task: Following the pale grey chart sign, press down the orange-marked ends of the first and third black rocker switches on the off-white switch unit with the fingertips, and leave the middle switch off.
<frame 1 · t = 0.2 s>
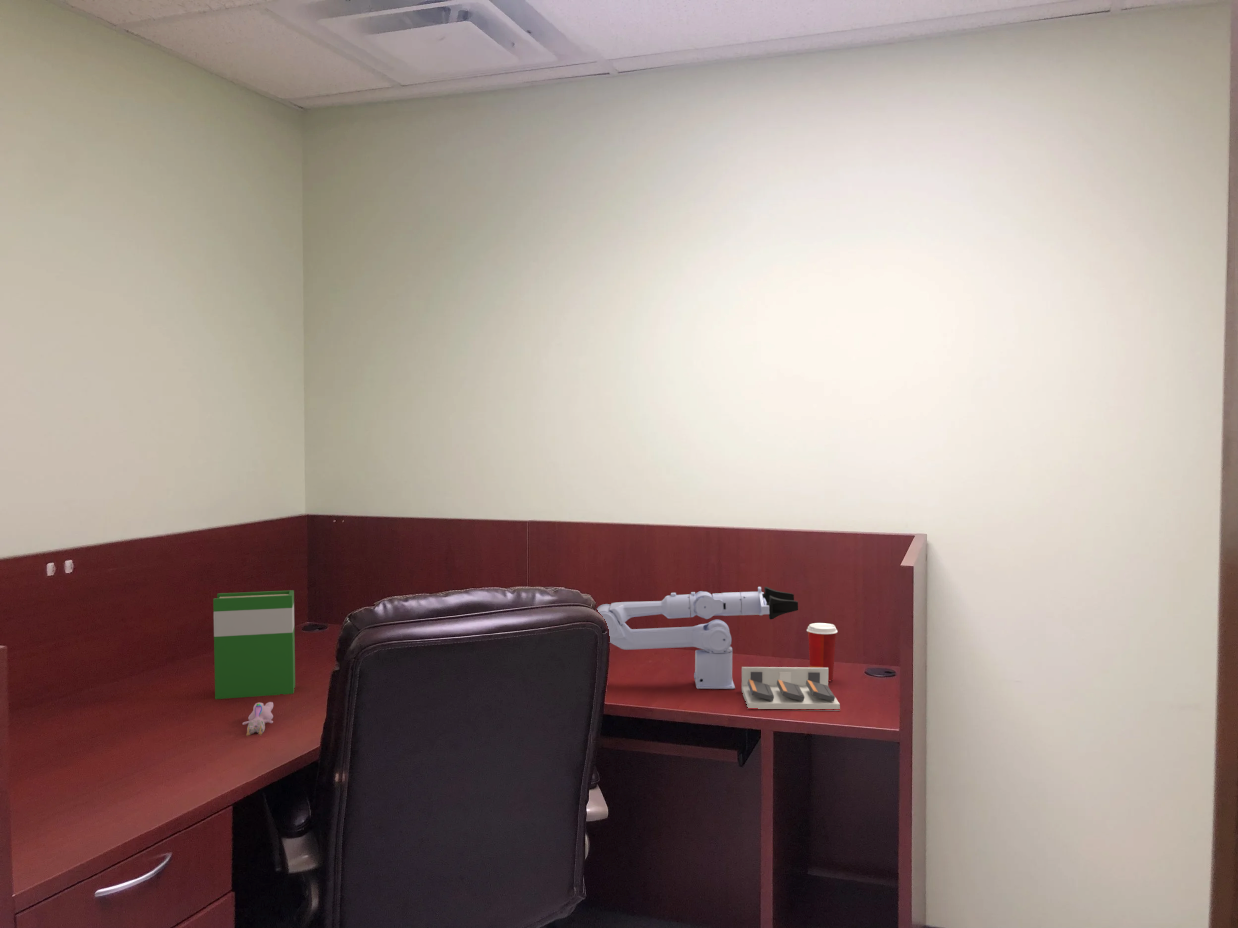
hand: (795, 601, 240), 21 cm above the table, tool horizontal, fingers open, 7 cm apart
switch 3: (820, 690, 228), point 3 cm above the table, hinge at 15.0°
switch 1: (760, 689, 228), point 3 cm above the table, hinge at 15.0°
switch unit: (789, 700, 229), on the table
switch 2: (790, 689, 228), point 3 cm above the table, hinge at 15.0°
paper cup: (821, 680, 248), on the table
hardback book: (256, 692, 236), on the table
pink and white figure: (260, 726, 210), on the table
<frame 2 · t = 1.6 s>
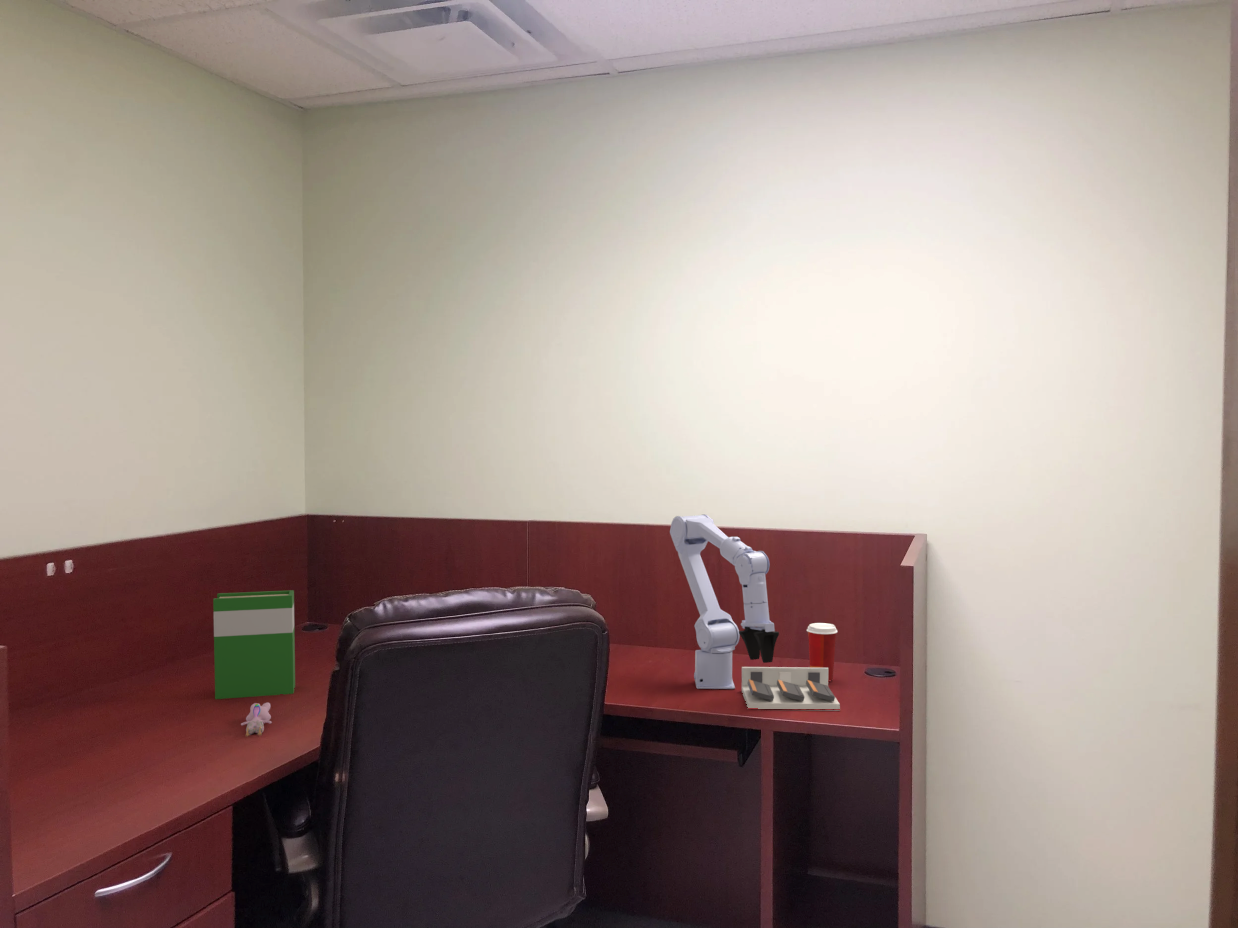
hand: (761, 660, 228), 10 cm above the table, tool pointing down, fingers open, 7 cm apart
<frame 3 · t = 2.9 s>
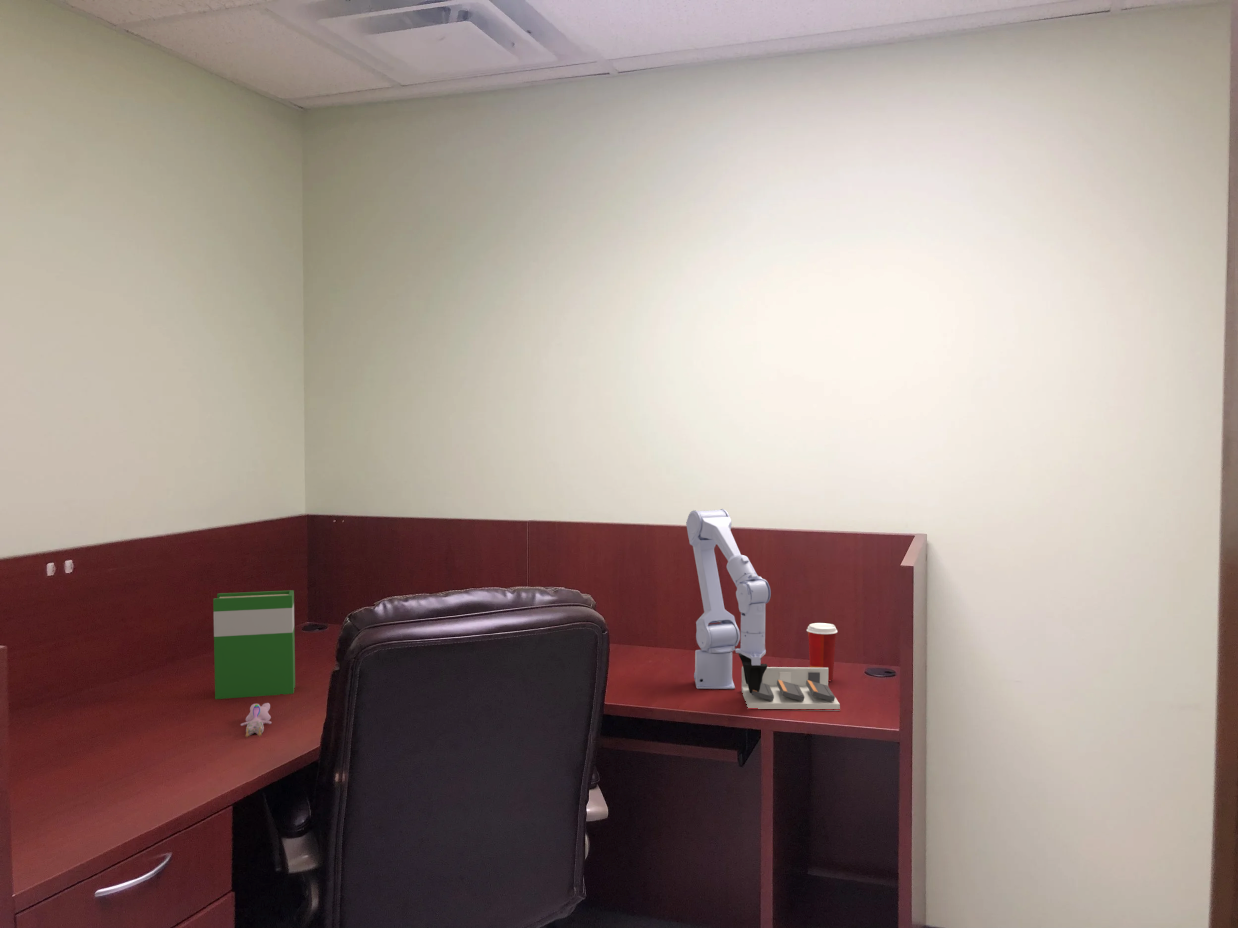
hand: (752, 688, 228), 3 cm above the table, tool pointing down
switch 1: (760, 689, 228), point 3 cm above the table, hinge at 14.7°, touching gripper
everything else where it was.
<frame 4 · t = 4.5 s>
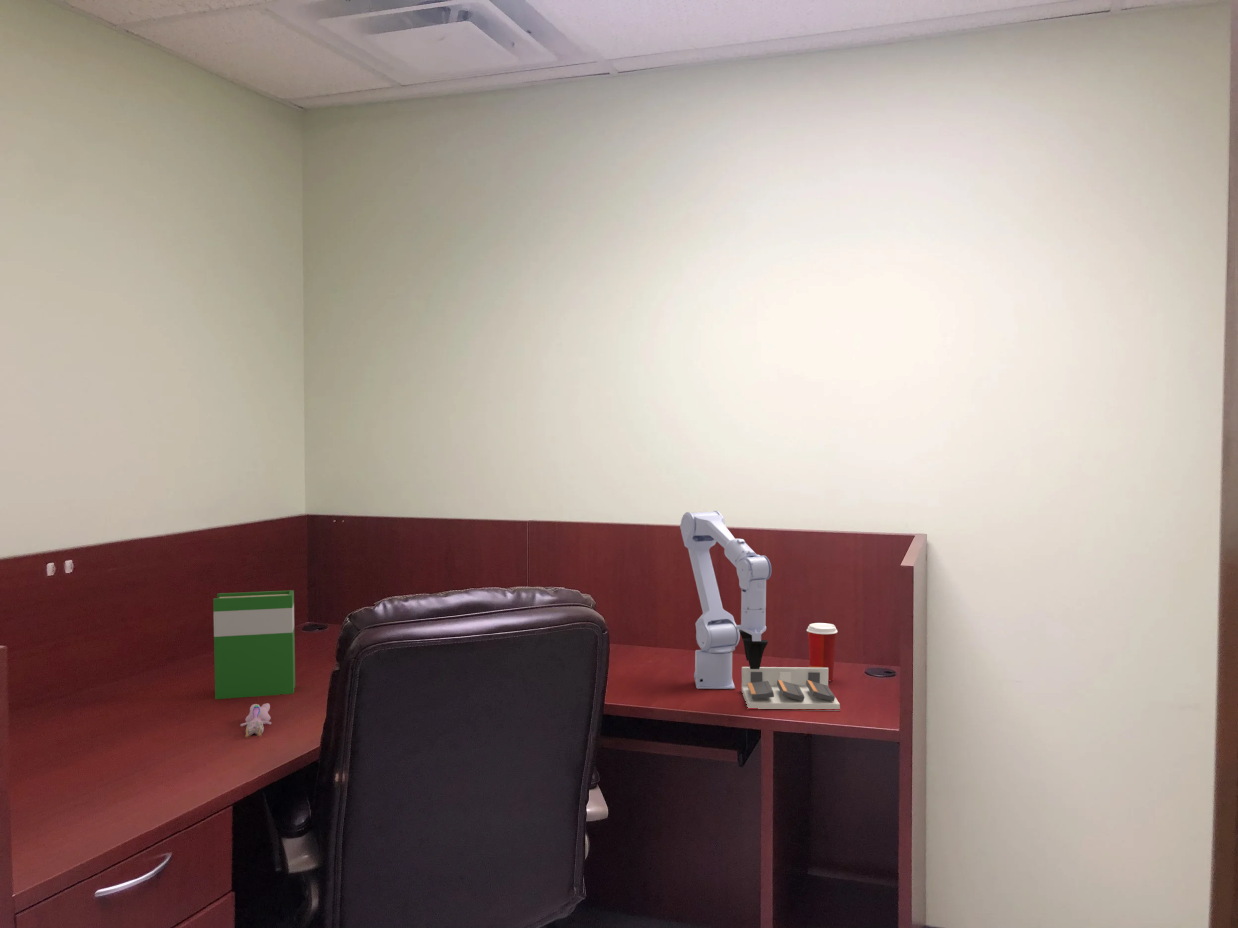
hand: (752, 664, 228), 9 cm above the table, tool pointing down, fingers open, 7 cm apart
switch 1: (760, 689, 228), point 3 cm above the table, hinge at -6.9°
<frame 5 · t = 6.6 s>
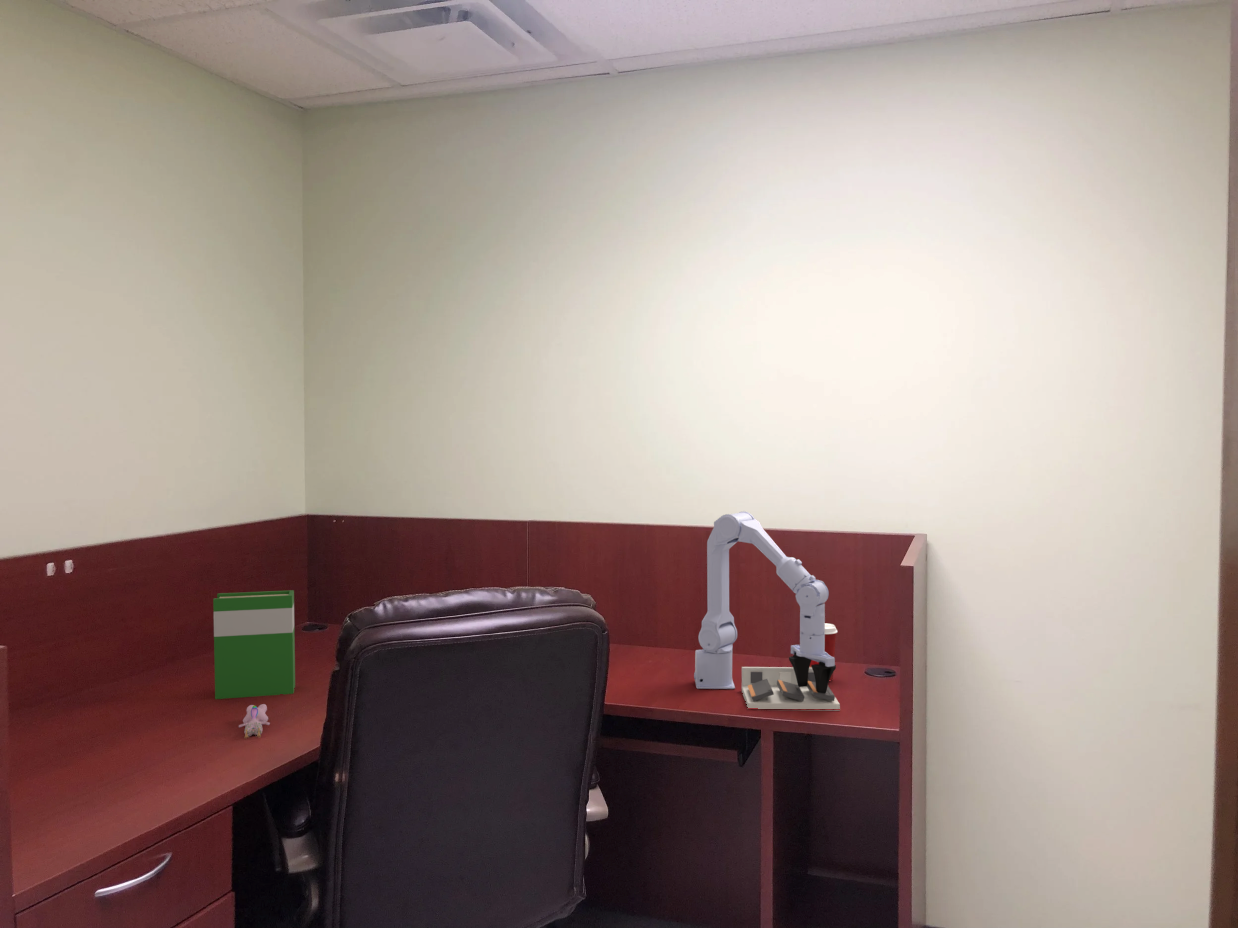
hand: (811, 690, 228), 3 cm above the table, tool pointing down
switch 3: (820, 690, 228), point 3 cm above the table, hinge at 11.6°, touching gripper
switch 1: (760, 689, 228), point 3 cm above the table, hinge at -20.6°
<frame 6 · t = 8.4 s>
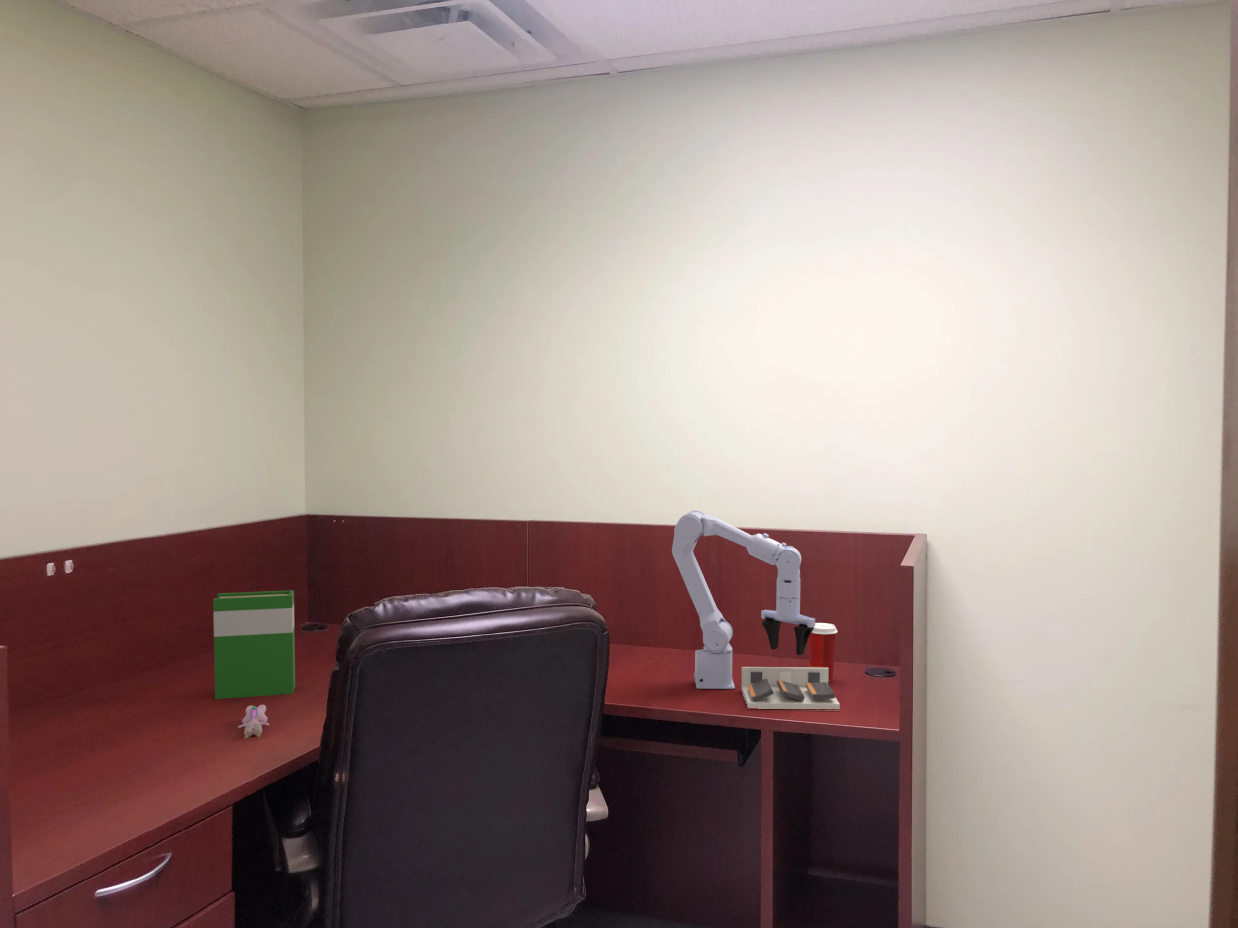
hand: (787, 651, 238), 10 cm above the table, tool pointing down, fingers open, 7 cm apart
switch 3: (819, 690, 228), point 3 cm above the table, hinge at -2.7°
switch 1: (760, 689, 228), point 3 cm above the table, hinge at -23.2°, touching switch unit
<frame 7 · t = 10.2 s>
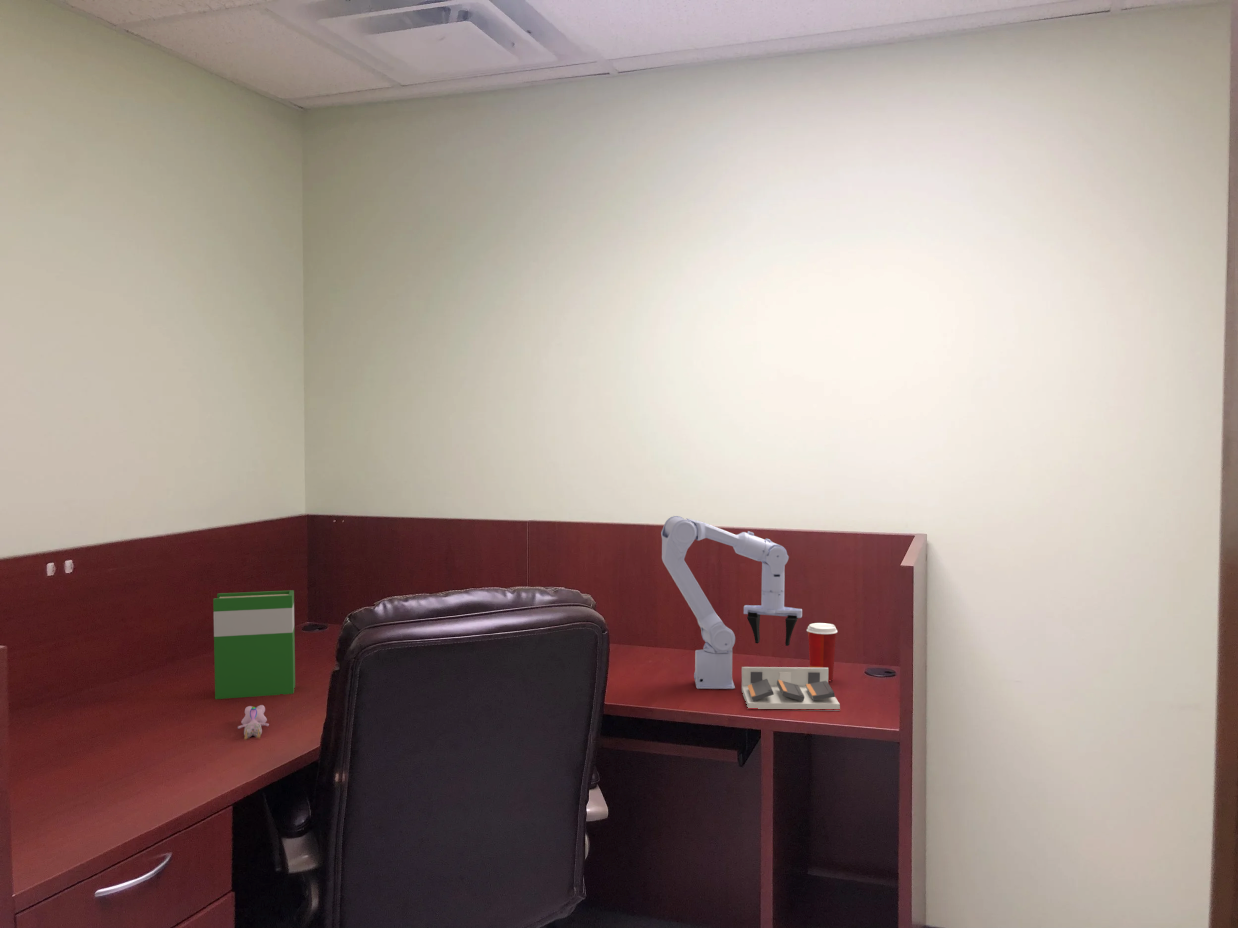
hand: (772, 643, 245), 10 cm above the table, tool pointing down, fingers open, 7 cm apart
switch 3: (819, 690, 228), point 3 cm above the table, hinge at -11.2°
switch 1: (760, 689, 228), point 3 cm above the table, hinge at -20.2°
at the end: switch 1 at -20° (first picture: +15°); switch 2 at +15° (first picture: +15°); switch 3 at -11° (first picture: +15°) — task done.
